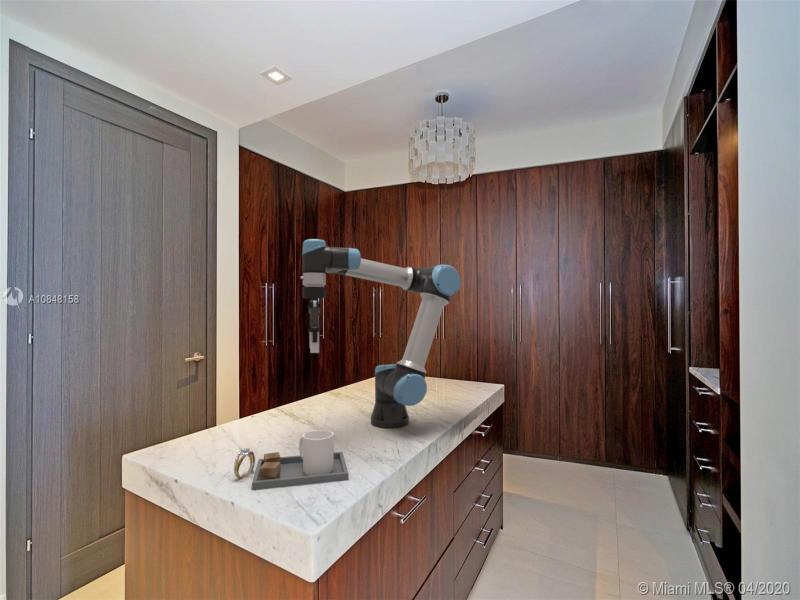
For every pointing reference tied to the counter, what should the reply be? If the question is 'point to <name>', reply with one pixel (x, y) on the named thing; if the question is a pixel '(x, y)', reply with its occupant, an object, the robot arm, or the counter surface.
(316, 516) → the counter surface
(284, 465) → the tray
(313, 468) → the cup
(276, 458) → the block
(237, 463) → the ring
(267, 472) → the block
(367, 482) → the counter surface
